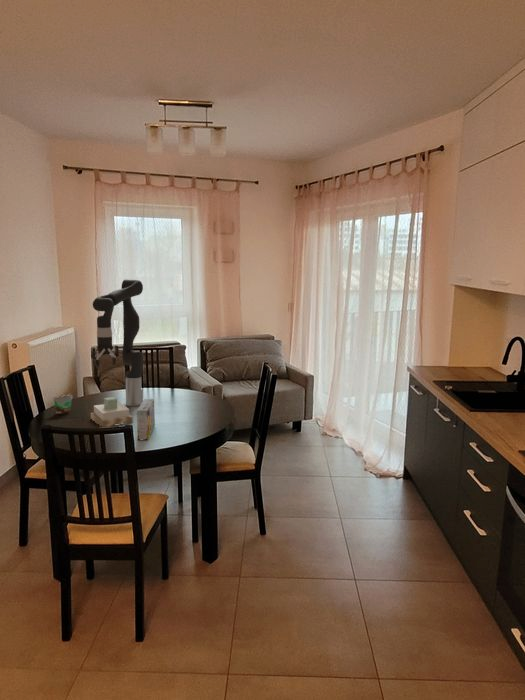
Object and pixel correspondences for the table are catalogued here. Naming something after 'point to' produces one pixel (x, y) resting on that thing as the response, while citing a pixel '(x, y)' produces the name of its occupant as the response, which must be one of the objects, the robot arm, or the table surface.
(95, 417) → the tower bottom slab
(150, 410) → the snack box
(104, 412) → the tower top slab
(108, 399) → the sage block
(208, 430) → the table surface
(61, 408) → the food container
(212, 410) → the table surface
